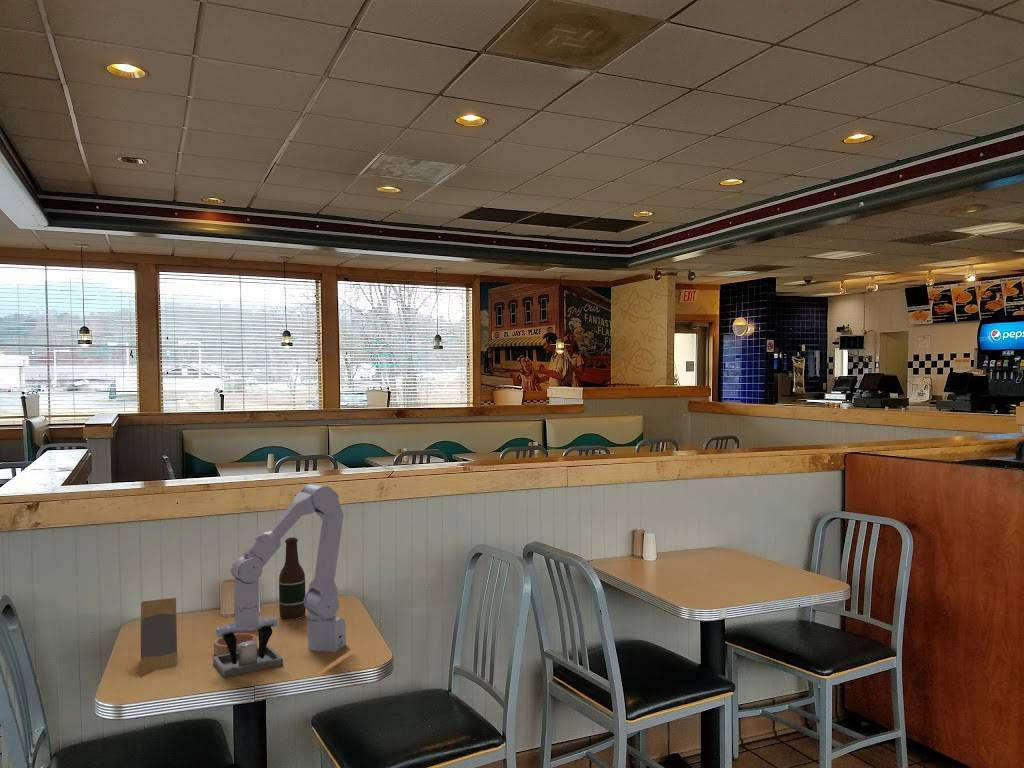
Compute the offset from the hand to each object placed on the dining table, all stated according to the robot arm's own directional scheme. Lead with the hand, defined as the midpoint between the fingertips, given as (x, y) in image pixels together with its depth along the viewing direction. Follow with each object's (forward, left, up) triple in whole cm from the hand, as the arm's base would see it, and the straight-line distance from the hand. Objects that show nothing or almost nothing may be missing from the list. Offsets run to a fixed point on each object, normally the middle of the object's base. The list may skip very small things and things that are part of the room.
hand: (247, 660), depth 187 cm
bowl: (+10, -8, -2) cm, 13 cm away
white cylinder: (0, 0, -1) cm, 1 cm away
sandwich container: (+24, +3, -2) cm, 24 cm away
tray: (0, 0, -2) cm, 2 cm away
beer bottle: (+14, -41, -2) cm, 43 cm away
